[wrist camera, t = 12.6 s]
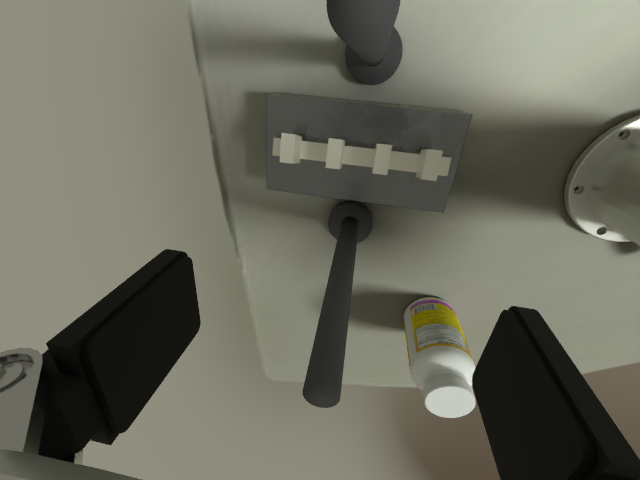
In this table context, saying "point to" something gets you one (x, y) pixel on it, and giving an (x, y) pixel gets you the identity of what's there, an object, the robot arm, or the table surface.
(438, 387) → the supplement bottle
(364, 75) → the cable upright
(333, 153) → the breaker paddles
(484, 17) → the table surface
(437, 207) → the breaker panel
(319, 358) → the cable upright
